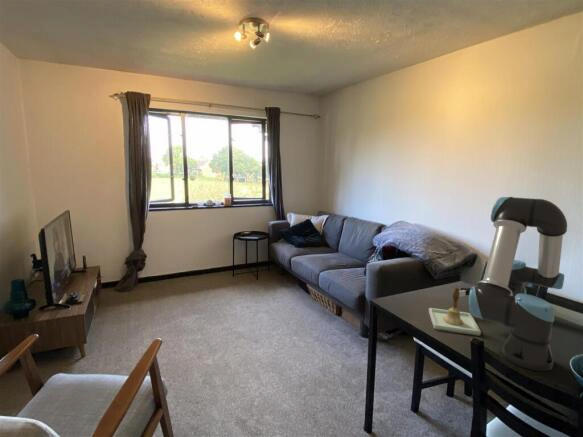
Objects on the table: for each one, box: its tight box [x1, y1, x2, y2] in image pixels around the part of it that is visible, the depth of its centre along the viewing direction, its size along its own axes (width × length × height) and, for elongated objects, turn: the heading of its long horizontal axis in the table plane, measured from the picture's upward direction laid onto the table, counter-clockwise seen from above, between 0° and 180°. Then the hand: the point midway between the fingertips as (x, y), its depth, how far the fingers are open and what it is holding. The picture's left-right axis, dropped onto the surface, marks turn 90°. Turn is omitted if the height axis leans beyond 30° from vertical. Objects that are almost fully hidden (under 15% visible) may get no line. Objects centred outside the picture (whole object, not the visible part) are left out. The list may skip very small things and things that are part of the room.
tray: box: [428, 307, 482, 337], centre depth 145 cm, size 18×18×2 cm
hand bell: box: [443, 287, 463, 325], centre depth 143 cm, size 8×8×16 cm
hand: (467, 300), depth 146 cm, fingers open, 13 cm apart
